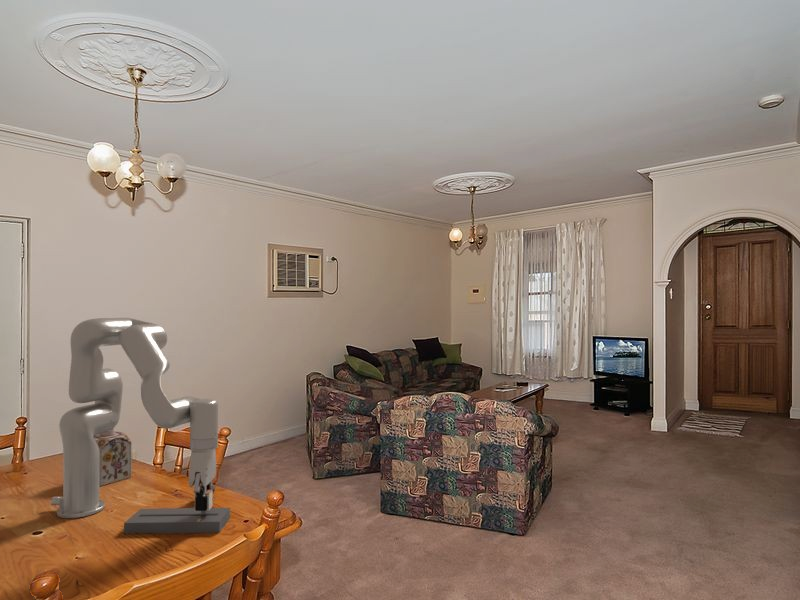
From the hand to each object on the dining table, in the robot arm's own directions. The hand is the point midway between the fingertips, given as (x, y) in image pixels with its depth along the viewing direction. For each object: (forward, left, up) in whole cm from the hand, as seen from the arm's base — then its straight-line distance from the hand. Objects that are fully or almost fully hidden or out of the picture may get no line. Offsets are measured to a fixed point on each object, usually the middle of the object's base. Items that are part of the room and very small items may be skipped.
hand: (203, 506), depth 150 cm
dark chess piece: (-6, +20, -5) cm, 22 cm away
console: (-7, 0, -5) cm, 9 cm away
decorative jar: (-48, +41, -6) cm, 63 cm away
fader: (0, 0, -2) cm, 2 cm away
